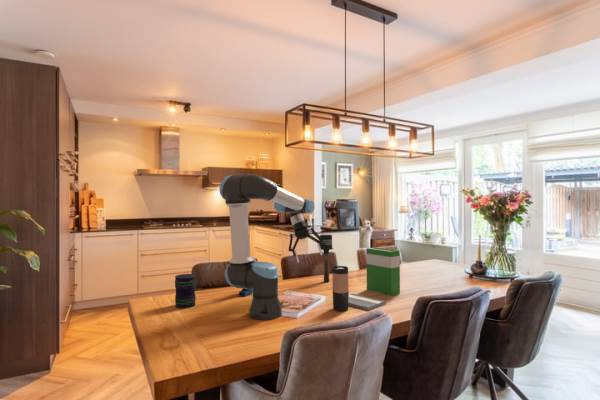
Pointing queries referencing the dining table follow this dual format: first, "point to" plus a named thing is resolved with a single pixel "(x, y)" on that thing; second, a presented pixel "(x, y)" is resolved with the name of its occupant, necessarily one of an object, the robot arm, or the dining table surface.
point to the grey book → (364, 302)
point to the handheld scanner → (247, 291)
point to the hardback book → (383, 270)
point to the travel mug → (340, 288)
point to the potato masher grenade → (326, 253)
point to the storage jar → (185, 291)
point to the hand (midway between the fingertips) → (310, 258)
